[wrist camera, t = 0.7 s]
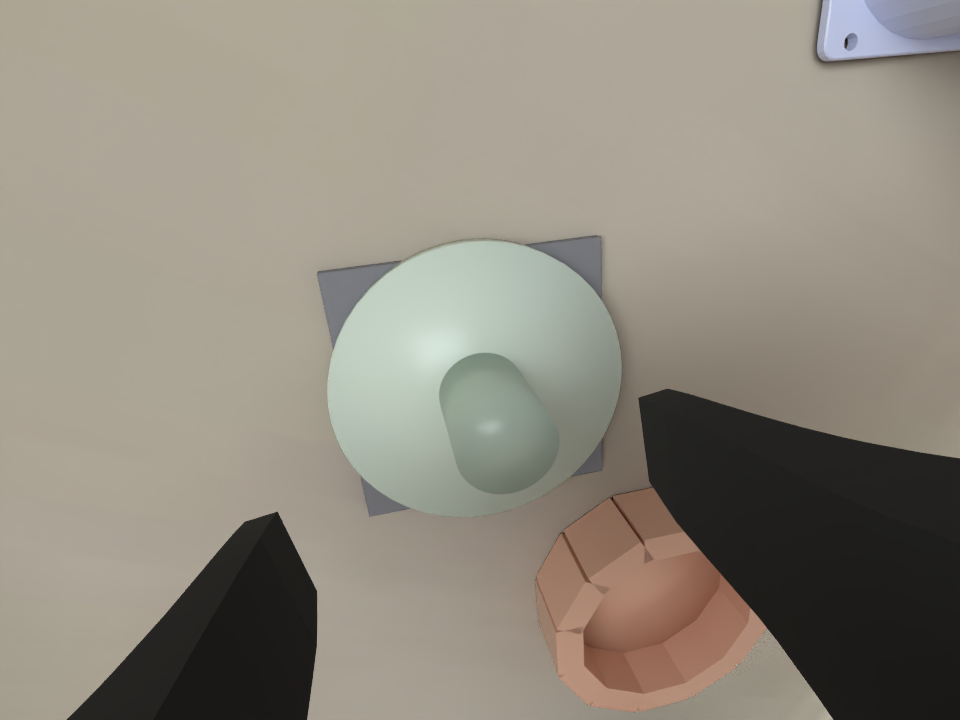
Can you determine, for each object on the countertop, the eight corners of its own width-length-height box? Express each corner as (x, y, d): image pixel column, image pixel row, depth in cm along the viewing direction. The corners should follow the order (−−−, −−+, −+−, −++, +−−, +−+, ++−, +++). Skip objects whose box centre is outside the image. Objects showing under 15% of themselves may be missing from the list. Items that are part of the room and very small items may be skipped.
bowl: (742, 469, 24) (789, 508, 22) (723, 628, 28) (761, 678, 26) (530, 512, 23) (552, 560, 20) (541, 674, 27) (561, 733, 24)
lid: (613, 220, 18) (688, 239, 14) (612, 477, 23) (670, 553, 18) (298, 260, 17) (271, 295, 12) (359, 528, 21) (355, 625, 17)
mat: (596, 235, 19) (601, 236, 19) (598, 465, 23) (601, 470, 22) (318, 271, 17) (316, 273, 17) (369, 510, 21) (369, 516, 21)
